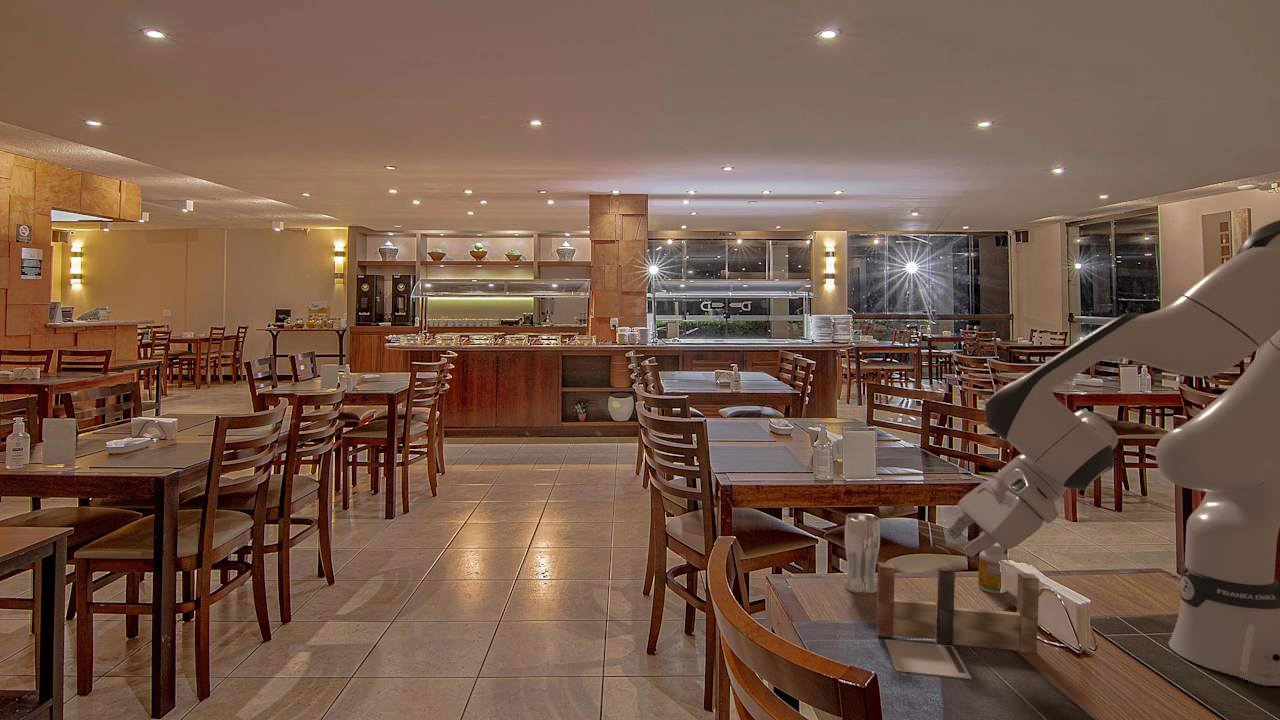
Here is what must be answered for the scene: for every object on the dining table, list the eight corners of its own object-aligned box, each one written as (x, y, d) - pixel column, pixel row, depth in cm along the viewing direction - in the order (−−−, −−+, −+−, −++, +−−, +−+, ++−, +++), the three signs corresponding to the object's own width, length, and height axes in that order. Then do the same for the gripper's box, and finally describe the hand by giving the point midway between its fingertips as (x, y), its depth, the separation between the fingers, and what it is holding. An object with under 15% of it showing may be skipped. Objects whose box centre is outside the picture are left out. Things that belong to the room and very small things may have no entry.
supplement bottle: (978, 582, 143) (979, 537, 142) (1006, 587, 140) (1008, 541, 140) (978, 591, 138) (979, 544, 137) (1007, 596, 135) (1009, 548, 135)
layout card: (953, 647, 113) (953, 645, 113) (971, 679, 102) (971, 677, 102) (884, 640, 115) (884, 639, 115) (896, 671, 104) (896, 670, 104)
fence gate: (932, 634, 116) (934, 566, 116) (936, 640, 114) (938, 571, 113) (876, 629, 118) (877, 562, 118) (878, 635, 116) (880, 567, 115)
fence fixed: (1030, 646, 113) (1033, 573, 113) (1036, 654, 111) (1039, 579, 110) (934, 638, 116) (936, 566, 116) (938, 644, 114) (940, 571, 113)
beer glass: (881, 596, 134) (883, 523, 134) (845, 593, 136) (846, 520, 135) (876, 584, 141) (877, 513, 141) (841, 581, 143) (843, 511, 142)
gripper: (988, 463, 122) (929, 513, 124) (1031, 489, 102) (960, 548, 104) (1013, 489, 121) (954, 539, 123) (1062, 520, 101) (991, 579, 103)
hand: (957, 543), depth 113 cm, fingers open, 8 cm apart
